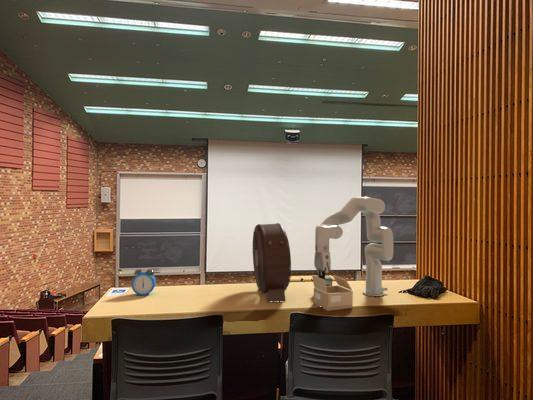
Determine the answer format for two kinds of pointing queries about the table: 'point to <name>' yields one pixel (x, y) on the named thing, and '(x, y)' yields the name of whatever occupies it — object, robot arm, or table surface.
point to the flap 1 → (319, 283)
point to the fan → (271, 260)
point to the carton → (334, 298)
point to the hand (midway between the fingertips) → (321, 282)
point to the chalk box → (328, 280)
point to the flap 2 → (342, 282)
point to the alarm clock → (143, 282)
